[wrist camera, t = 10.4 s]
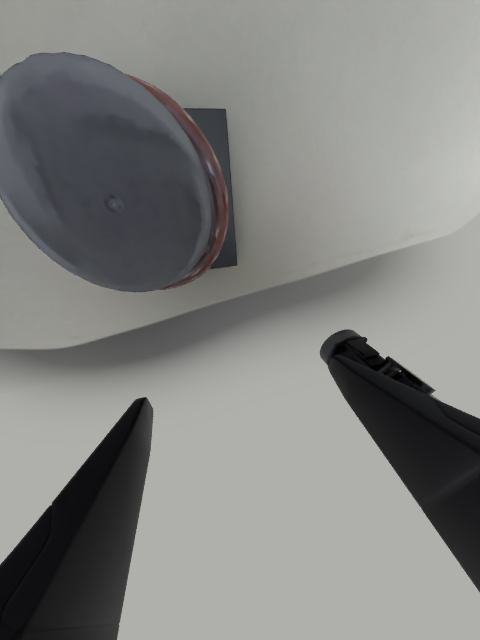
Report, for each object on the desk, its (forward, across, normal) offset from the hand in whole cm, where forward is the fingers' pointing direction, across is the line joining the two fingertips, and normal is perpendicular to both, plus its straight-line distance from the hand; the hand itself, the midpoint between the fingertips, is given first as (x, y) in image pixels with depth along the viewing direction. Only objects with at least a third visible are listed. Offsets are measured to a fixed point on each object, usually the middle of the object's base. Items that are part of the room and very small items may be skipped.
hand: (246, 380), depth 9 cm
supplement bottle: (+11, +3, -7) cm, 13 cm away
